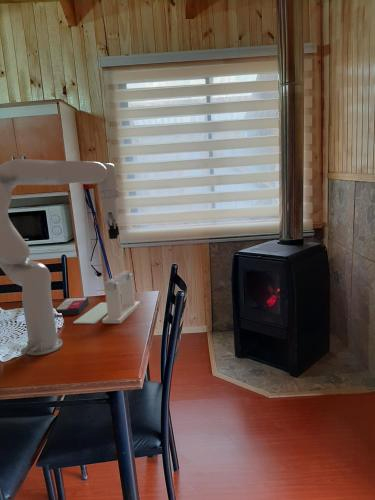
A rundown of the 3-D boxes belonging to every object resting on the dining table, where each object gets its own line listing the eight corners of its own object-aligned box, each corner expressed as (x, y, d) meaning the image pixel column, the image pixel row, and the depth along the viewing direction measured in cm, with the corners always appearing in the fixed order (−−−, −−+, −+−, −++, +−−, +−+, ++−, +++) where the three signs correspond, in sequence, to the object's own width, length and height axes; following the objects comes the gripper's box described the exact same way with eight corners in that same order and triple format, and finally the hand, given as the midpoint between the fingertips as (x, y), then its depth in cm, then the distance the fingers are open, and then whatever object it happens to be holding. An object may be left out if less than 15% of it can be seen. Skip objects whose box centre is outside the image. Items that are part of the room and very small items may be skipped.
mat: (94, 324, 150) (94, 322, 150) (73, 323, 152) (72, 322, 152) (119, 303, 175) (119, 302, 175) (101, 303, 177) (100, 302, 177)
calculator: (54, 309, 163) (66, 297, 178) (55, 318, 164) (67, 305, 179) (78, 307, 163) (88, 296, 177) (79, 316, 164) (89, 304, 178)
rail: (113, 290, 148) (112, 282, 148) (105, 290, 149) (104, 282, 149) (131, 277, 168) (131, 270, 167) (124, 278, 168) (123, 270, 168)
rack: (120, 323, 148) (116, 285, 146) (102, 323, 150) (97, 286, 147) (140, 304, 171) (137, 271, 169) (124, 304, 173) (121, 271, 170)
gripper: (101, 195, 153) (107, 235, 156) (96, 196, 136) (103, 241, 140) (119, 193, 154) (124, 233, 157) (116, 194, 137) (122, 239, 140)
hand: (114, 236), depth 148 cm, fingers open, 9 cm apart
